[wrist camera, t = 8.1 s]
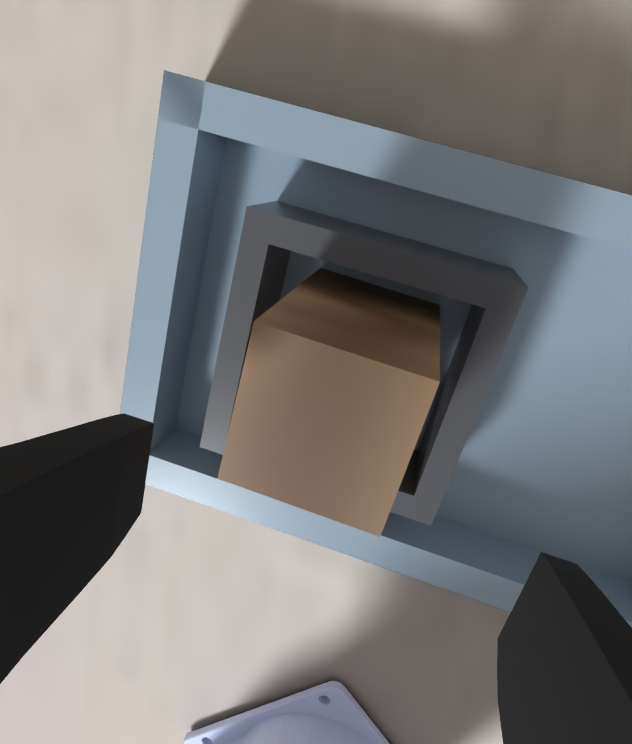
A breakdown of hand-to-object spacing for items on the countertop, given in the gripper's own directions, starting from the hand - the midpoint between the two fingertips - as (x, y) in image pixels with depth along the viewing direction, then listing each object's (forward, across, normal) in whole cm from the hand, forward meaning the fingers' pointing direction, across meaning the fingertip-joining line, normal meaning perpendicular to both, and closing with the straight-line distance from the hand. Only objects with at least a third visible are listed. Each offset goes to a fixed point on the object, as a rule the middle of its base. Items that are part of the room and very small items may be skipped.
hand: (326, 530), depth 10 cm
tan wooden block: (+9, +1, -1) cm, 9 cm away
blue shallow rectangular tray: (+10, -2, 0) cm, 10 cm away
